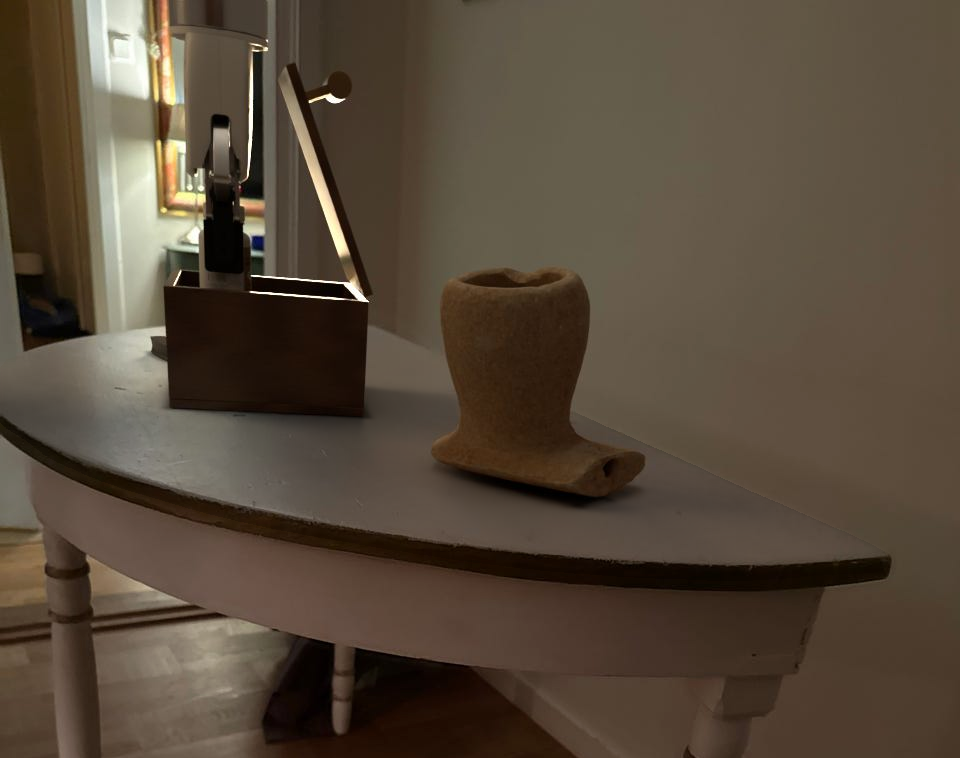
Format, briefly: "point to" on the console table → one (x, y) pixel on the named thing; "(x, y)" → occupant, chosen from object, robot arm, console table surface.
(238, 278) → the pill bottle
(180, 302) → the chest
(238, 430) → the console table surface
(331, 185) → the lid
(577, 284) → the stone cup
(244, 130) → the robot arm
